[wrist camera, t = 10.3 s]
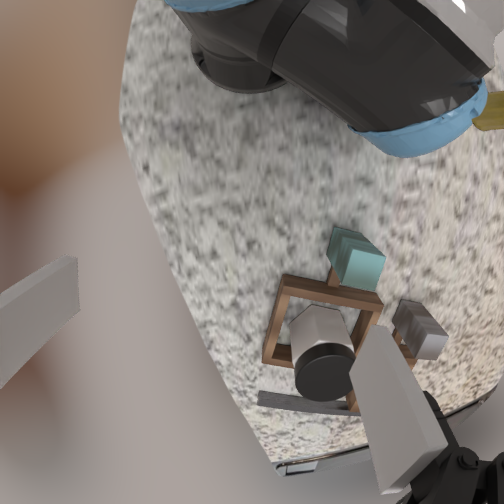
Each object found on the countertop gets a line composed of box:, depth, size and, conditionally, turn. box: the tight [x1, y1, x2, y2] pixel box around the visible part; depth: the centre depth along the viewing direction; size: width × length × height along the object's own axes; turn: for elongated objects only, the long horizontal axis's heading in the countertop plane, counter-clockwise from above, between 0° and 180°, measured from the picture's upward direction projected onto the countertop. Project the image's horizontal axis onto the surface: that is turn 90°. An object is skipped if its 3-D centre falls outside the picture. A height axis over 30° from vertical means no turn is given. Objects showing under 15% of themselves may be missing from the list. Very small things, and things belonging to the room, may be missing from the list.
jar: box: [289, 305, 356, 402], centre depth 39 cm, size 9×8×12 cm
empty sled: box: [346, 300, 449, 412], centre depth 40 cm, size 21×7×10 cm, turn 168°
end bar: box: [257, 391, 361, 416], centre depth 48 cm, size 2×25×2 cm, turn 78°
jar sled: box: [262, 227, 386, 369], centre depth 38 cm, size 21×14×10 cm
